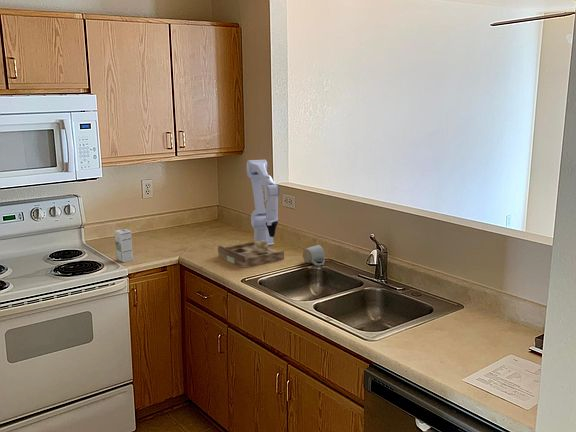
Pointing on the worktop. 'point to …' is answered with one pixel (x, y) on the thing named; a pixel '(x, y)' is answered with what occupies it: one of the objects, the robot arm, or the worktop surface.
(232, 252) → the trap box
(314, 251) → the ceramic mug
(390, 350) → the worktop surface
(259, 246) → the maple block
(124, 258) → the syrup box
